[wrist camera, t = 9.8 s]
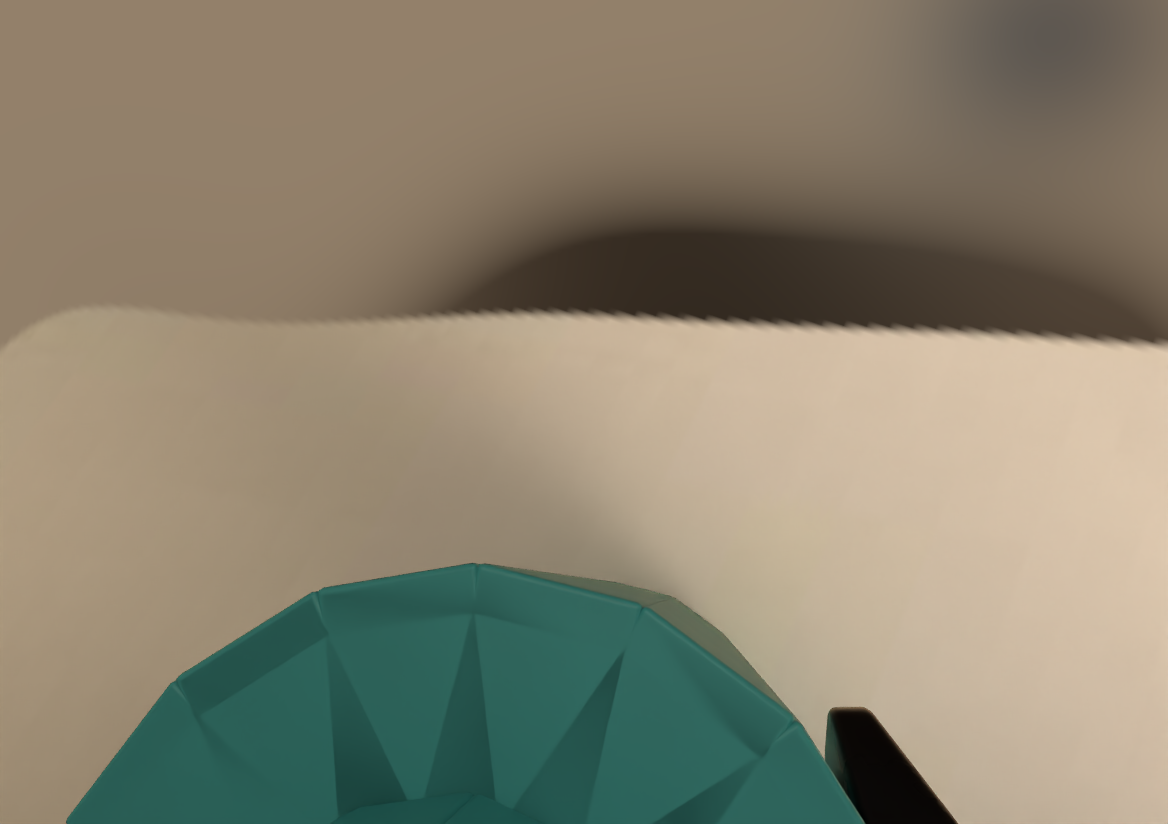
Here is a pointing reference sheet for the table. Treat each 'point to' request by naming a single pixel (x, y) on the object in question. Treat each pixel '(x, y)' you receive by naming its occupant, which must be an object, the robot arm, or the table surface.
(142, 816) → the detergent bottle
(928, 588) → the table surface
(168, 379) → the table surface
